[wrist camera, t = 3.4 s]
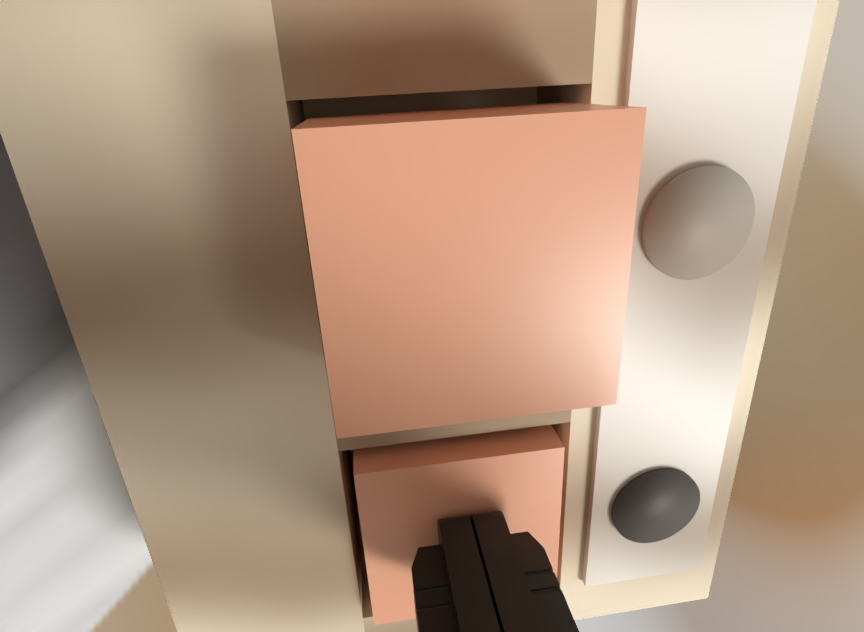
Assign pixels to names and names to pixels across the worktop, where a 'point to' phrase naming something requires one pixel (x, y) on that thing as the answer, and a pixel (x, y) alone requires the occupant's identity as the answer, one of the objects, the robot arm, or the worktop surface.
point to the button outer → (451, 500)
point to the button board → (294, 286)
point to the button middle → (470, 259)
